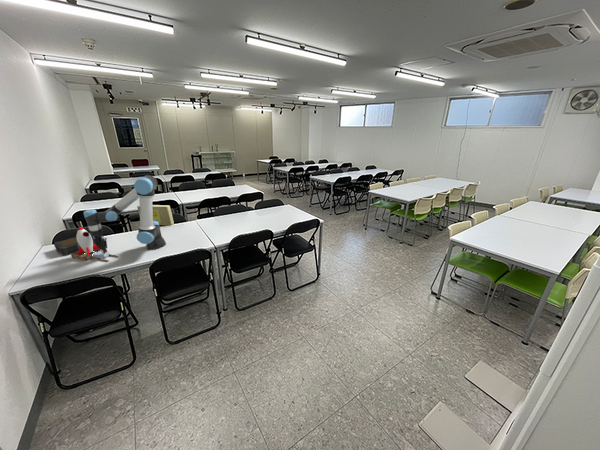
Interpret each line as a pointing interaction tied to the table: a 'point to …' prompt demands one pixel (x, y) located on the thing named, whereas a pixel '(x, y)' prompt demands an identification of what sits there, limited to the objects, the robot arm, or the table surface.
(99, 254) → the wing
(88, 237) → the rocket
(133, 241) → the table surface
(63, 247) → the cash box
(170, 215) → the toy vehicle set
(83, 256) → the tray
